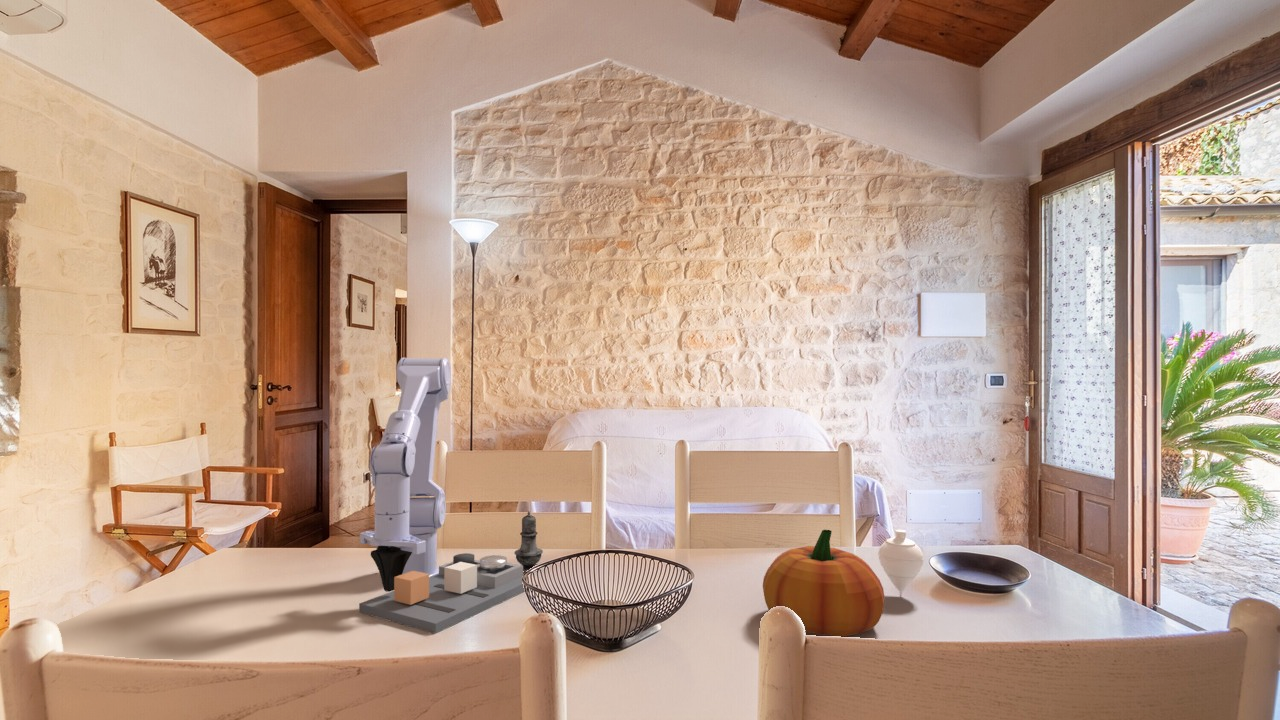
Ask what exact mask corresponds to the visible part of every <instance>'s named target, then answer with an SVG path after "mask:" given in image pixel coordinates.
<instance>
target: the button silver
mask: <svg viewBox="0 0 1280 720" xmlns="http://www.w3.org/2000/svg"><path fill="white" fill-rule="evenodd" d="M507 560H508V558H507V557H506V556H505V555H500V554H499V555H497V554H495V555H487V556H484V557H481V558H479V561H480V569H481V570H484V571H498V570H502V569H504V568H506V567H507V563H508V562H507Z"/></svg>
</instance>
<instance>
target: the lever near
mask: <svg viewBox="0 0 1280 720" xmlns="http://www.w3.org/2000/svg"><path fill="white" fill-rule="evenodd" d="M393 591H394V601H397V602H401V603H405V604H409V605H411V604H414V603H416V602H419V601H421V600H424V599H426V598H429V574H426V573H422V572H417V571H411V572H408V573H405V574H402V575H399V576H396V577H394V590H393Z"/></svg>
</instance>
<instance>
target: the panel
mask: <svg viewBox="0 0 1280 720" xmlns="http://www.w3.org/2000/svg"><path fill="white" fill-rule="evenodd" d="M474 564H475V565H477V587H476V588H474V589H471V590H469V591H466V592H464V593H462V594H460V593H455V592H451V591H446V590H444V568H445V567H447V566H450V565H453V561H451V562H448V563H445V564H442V565H440V566H438V568H439V574H438V575H436V576H433V577H430V578H429V598H426V599H424V600H421V601H419V602H416V603H414V604H411V605H409V604H405V603H401V602H397V601H394V590H393V591H390V592H387V593H384V594H381V595H379V596H376V597H373V598H370V599H368V600H365V601H362V602H360V603H359V606H358V609H359V610H358V612H359V613H360V614H364V615H367V616H371V617H375V618H378V619H382V620H386V621H389V622H393V623H395V624H396V623H397V624H400V625H403V626H408V627H411V628H413V629H414V628H415V629H419V630H423V631H427V632H430V633H434V634H438V633H440V632H442V631H443V630H445V629H449V628H450V627H452V626H454V625H456V624H459V623H461V622H464V621H466V620H467V619H469V618H471V617H474V616H475V615H479V614H480V613H481V612H484V611H486V610H488V609H490V608H492V607H494V606H497V605H499V604H501V603H503V602H505V601H507V600H510V599H511V598H513V597H516V596H518V595H520V594H522V593H524V592H525V591H524V588H523V584H522V576H523V575H524V574H525V573H523V565H522V564H517V563H512V562H507V567H506V568H504V569H502V570H498V571H484V570H481V569H480V560H476V559H474Z"/></svg>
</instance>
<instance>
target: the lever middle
mask: <svg viewBox="0 0 1280 720" xmlns="http://www.w3.org/2000/svg"><path fill="white" fill-rule="evenodd" d="M476 587H477V565H475V564H470V563H465V562H459V563H456V564H453V565H450V566H447V567H445V568H444V590H446V591H451V592H455V593H460V594H462V593H464V592H466V591H469V590H471V589H474V588H476Z"/></svg>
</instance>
